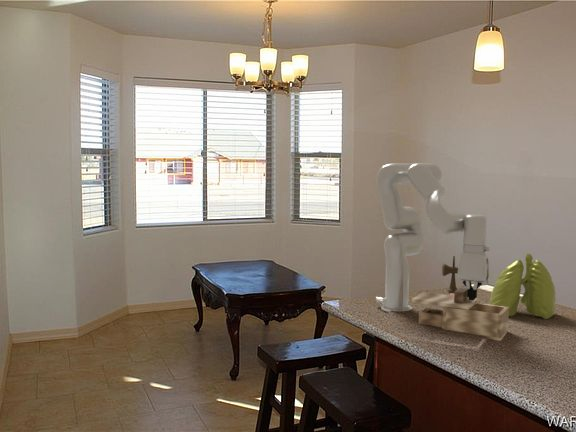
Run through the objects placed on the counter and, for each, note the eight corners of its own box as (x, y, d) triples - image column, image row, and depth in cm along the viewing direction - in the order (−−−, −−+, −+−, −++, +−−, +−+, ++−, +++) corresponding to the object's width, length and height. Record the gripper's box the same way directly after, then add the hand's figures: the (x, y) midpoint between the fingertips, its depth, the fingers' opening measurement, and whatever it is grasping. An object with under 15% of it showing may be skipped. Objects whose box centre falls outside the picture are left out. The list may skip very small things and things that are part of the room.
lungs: (549, 310, 238) (552, 252, 236) (558, 320, 223) (562, 258, 221) (486, 306, 244) (489, 250, 242) (491, 316, 229) (493, 255, 227)
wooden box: (416, 327, 211) (417, 303, 210) (427, 319, 222) (428, 296, 222) (500, 340, 196) (501, 315, 195) (507, 331, 207) (508, 307, 206)
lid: (411, 301, 211) (412, 288, 211) (423, 295, 223) (423, 281, 222) (468, 309, 201) (468, 295, 200) (477, 302, 212) (477, 288, 212)
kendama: (464, 302, 250) (466, 257, 248) (442, 301, 251) (443, 256, 250) (462, 299, 256) (464, 255, 254) (440, 298, 257) (441, 254, 255)
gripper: (498, 249, 204) (495, 300, 206) (455, 246, 212) (453, 295, 214) (493, 252, 198) (491, 304, 200) (450, 248, 206) (448, 299, 207)
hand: (471, 299), depth 207 cm, fingers closed
